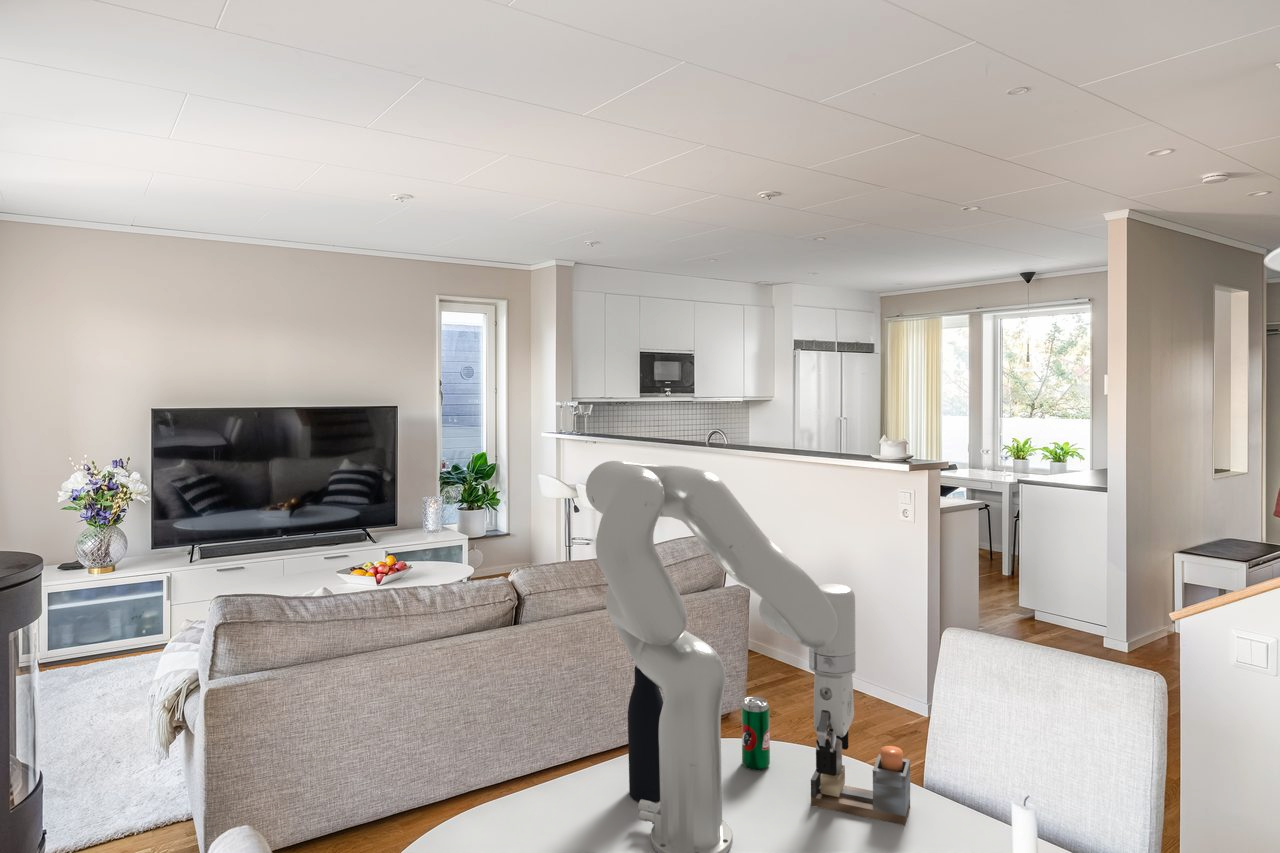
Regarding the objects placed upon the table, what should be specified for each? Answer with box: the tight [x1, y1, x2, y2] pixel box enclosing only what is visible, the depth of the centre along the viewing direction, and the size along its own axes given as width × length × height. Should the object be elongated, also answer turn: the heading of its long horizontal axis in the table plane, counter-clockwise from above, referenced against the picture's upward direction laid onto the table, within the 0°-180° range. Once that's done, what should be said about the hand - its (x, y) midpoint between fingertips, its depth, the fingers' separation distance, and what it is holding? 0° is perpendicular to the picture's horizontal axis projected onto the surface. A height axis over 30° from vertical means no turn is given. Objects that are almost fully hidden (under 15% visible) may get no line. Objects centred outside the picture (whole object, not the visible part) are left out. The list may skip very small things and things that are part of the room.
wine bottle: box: [627, 663, 664, 803], centre depth 138 cm, size 6×6×30 cm
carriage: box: [820, 737, 846, 797], centre depth 135 cm, size 3×5×8 cm, turn 155°
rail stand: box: [810, 753, 911, 827], centre depth 133 cm, size 15×6×8 cm, turn 65°
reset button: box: [880, 745, 904, 771], centre depth 130 cm, size 3×3×3 cm
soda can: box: [741, 696, 771, 771], centre depth 147 cm, size 5×5×12 cm
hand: (832, 760), depth 134 cm, fingers open, 9 cm apart
